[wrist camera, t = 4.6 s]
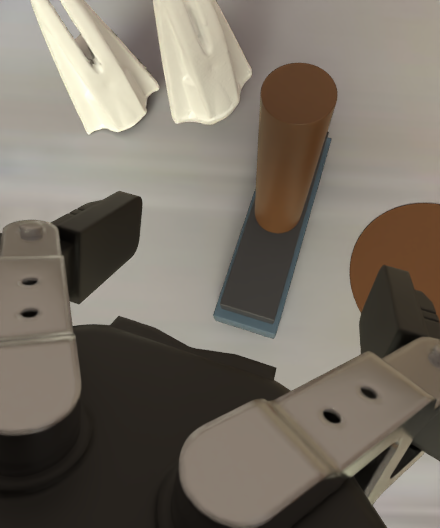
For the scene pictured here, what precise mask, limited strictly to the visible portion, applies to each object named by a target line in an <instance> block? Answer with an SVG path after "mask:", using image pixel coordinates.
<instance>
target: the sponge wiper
mask: <svg viewBox="0 0 440 528" xmlns="http://www.w3.org/2000/svg"><path fill="white" fill-rule="evenodd" d="M336 101H337V88H336V85H335V83H334V81H333V79H332V78H331V76H330V75H329V74H328V73H327V72H325V71H324V70H323V69H321V68H319V67H317V66H314V65H311V64H307V63H291V64H286V65H283V66H281V67H279V68H277V69H275V70H274V71H272V72H271V73H270V74H269V75H268V76H267V78H266V79H265V81H264V82H263V85H262V88H261V95H260V115H259V135H258V155H257V175H256V188H255V191H254V194H253V197H252V200H251V203H250V206H249V209H248V212H247V215H246V218H245V221H244V224H243V227H242V230H241V233H240V236H239V239H238V242H237V245H236V248H235V251H234V254H233V257H232V260H231V263H230V266H229V269H228V272H227V275H226V278H225V281H224V284H223V287H222V290H221V293H220V296H219V299H218V302H217V305H216V308H215V311H214V314H213V316H214V318H215V320H216V321H219V322H222V323H225V324H228V325H232V326H235V327H238V328H241V329H244V330H247V331H251V332H254V333H257V334H260V335H263V336H266V337H270V338H274V337H275V335H276V333H277V329H278V326H279V322H280V319H281V315H282V311H283V308H284V304H285V301H286V297H287V294H288V290H289V287H290V283H291V280H292V276H293V273H294V269H295V266H296V262H297V259H298V255H299V252H300V248H301V245H302V241H303V238H304V234H305V231H306V227H307V224H308V220H309V216H310V213H311V209H312V206H313V202H314V199H315V195H316V192H317V188H318V185H319V181H320V178H321V174H322V171H323V167H324V164H325V160H326V157H327V153H328V150H329V146H330V143H331V138H328V132H327V131H328V127H329V124H330V121H331V118H332V114H333V111H334V108H335V105H336Z"/></svg>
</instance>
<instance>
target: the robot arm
mask: <svg viewBox="0 0 440 528" xmlns="http://www.w3.org/2000/svg"><path fill="white" fill-rule="evenodd" d="M141 215H142V199H141V197H139V196H136V195H132V194H129V193H125V192H121V191H118V192H116V193H114V194H112V195H110V196H109V197H107V198H105V199H103V200H100V201H95V202H90V203H87V204H85V205H83V206H81V207H79V208H78V210H77V209H75V210H74V211H72V212H70V214H66V215H64V216H62V217H60V218H59V219H57V220H55V221H53V222H51V223H49V222H45V221H39V220H22V221H17V222H13V223H10V224H8V225H7V226H5V227H4V228H3V232H2V233H0V528H387V527H386V525H385V524H384V522H383V521H382V519H381V518H380V516H379V515H378V513H377V511H376V510H375V508H374V507H373V504H374V503H375V501H376V500H377V499H378V498H379V496H380V495H381V494H382V493H383V492H384V491H385V490H386V489H387V488H388V487H389V486H390V485H391V484H393V483H394V482H395V481H396V480H397V479H398V478H399V477H400V476H401V475H402V474H403V473H404V472H405V471H406V470H408V469H409V468H410V467H411V466H412V465H413V464H414V463H415V462H416V461H417V460H418V459H419V458H420V457H421V456H422V455H423V454H424V453H427V454H429V455H430V456H432V457H434V458H435V459H437V460H439V461H440V323H439V322H440V320H439V318H438V315H437V314H436V310H435V307H434V305H433V302H432V301H431V300H430V299H429V298H428V297H427V296H426V295H425V294H424V293H423V292H422V291H418V290H415V289H414V286H413V283H412V280H411V277H410V274H409V272H408V271H405V270H401V269H397V268H394V267H390V266H387V265H383V266H382V267H381V268H380V270H379V272H378V274H377V277H376V279H375V281H374V284H373V286H372V288H371V291H370V293H369V295H368V298H367V300H366V302H365V305H364V307H363V310H362V313H361V317H360V322H359V330H360V345H361V355H359V356H357V357H355V358H353V359H351V360H349V361H348V362H346V363H344V364H342V365H340V366H338V367H336V368H334V369H332V370H330V371H329V372H327V373H325V374H323V375H321V376H319V377H317V378H315V379H313V380H311V381H310V382H308V383H306V384H304V385H302V386H300V387H298V388H296V389H294V390H292V391H290V390H289V389H287V388H286V387H284V386H283V385H281V384H280V383H278V382H276V381H275V380H274V377H275V372H276V368H275V367H272V366H269V365H266V364H263V363H260V362H257V361H254V360H251V359H248V358H245V357H242V356H239V355H236V354H229V353H222V352H216V351H209V350H202V349H195V348H191V347H189V346H187V345H185V344H183V343H182V342H180V341H178V340H176V339H174V338H173V337H171V336H169V335H167V334H165V333H164V332H162V331H160V330H158V329H156V328H154V327H151V326H148V325H145V324H142V323H139V322H136V321H133V320H130V319H127V318H124V317H121V316H118V317H117V318H116V319H115V320H114V322H113V323H112V324H111V325H97V324H92V325H78V326H72V318H71V310H70V302H69V301H71V302H74V303H77V304H80V303H81V302H82V301H83V300H84V299H86V298H87V297H88V296H89V295H90V294H91V293H92V292H93V291H94V290H96V289H97V288H98V287H99V286H100V285H101V284H102V283H103V282H104V281H106V280H107V279H108V278H109V277H110V276H111V275H112V274H113V273H114V272H116V271H117V270H118V269H119V268H120V267H121V266H122V265H123V264H125V263H126V262H127V261H128V260H129V259H130V258H131V257H132V256H133V255H134V253H135V252H136V250H137V247H138V243H139V237H140V226H141Z"/></svg>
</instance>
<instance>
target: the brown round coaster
mask: <svg viewBox="0 0 440 528" xmlns="http://www.w3.org/2000/svg"><path fill="white" fill-rule="evenodd" d="M383 265H387V266H390V267H394V268H397V269H401V270H405V271H408V272H409V274H410V277H411V280H412V283H413V286H414V289H415V290H418V291H422V292H423V293H424V294H425V295H426V296H427V297H428V298H429V299H430V300H431V301H432V302H433V305H434V307H435V310H436V314H437V315H438V318H439V320H440V205H439V204H430V203H418V204H410V205H404V206H401V207H397V208H394V209H392V210H390V211H387V212H386V213H384V214H382V215H381V216H379V217H378V218H376V219H375V220H374V221H373V222H371V223H370V224H369V225H368V226H367V228H366V229H365V230H364V231H363V233H362V234H361V235H360V237H359V239H358V241H357V243H356V245H355V247H354V250H353V253H352V256H351V262H350V282H351V288H352V292H353V296H354V299H355V301H356V304H357V306H358V308H359V310H360V312H361V313H362V310H363V307H364V305H365V302H366V300H367V298H368V295H369V293H370V291H371V288H372V286H373V284H374V281H375V279H376V277H377V274H378V272H379V270H380V268H381V267H382V266H383ZM439 323H440V322H439Z"/></svg>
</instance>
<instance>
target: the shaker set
mask: <svg viewBox="0 0 440 528" xmlns="http://www.w3.org/2000/svg"><path fill="white" fill-rule="evenodd" d="M30 1H31V4H32V7H33V10H34V13H35V15H36V18H37V21H38V23H39V26H40V29H41V31H42V34H43V36H44V39H45V41H46V43H47V46H48V48H49V50H50V53H51V55H52V57H53V60H54V62H55V64H56V67H57V69H58V71H59V74H60V76H61V78H62V80H63V82H64V85H65V87H66V89H67V91H68V93H69V95H70V98H71V100H72V102H73V104H74V106H75V108H76V111H77V113H78V115H79V117H80V119H81V121H82V123H83V125H84V128H85V130H86V132H87V133H88V134H90V133H92V132H93V131H95V130H100V129H102V128H108V129H110V130H111V131H114V132H116V131H117V132H120V131H122V130H126V129H128V128H131V127H132V126H134V125H135V124H136V123H137V122H139V120H140V119H141V118H142V117H143V116H144V115H146V112H147V109H146V106H147V98H148V96H150V95H151V93H153V92H154V91H158V90H159V85H158V81H156V80H155V79H154V78H153V77H152V75H151V73H149V71H148V70H147V68H146V67H144V66H143V65H142V63H141V62H140V60H139V59H137V58H136V57H135V56H134V55H133V54H132V53H131V51H130V50H129V49H128V48H127V47H126V46H125V44H124V43H123V42H122V41H121V40H120V39H119V38H118V37H117V35H116V34H115V33H114V32H113V31H112V30H111V29H110V28H109V27H108V26H107V25H106V24H105V23H104V22H103V21H102V20H101V19H100V17H99V16H98V15H97V14H96V13H95V12H94V11H93V10H92V8H91V7H90V6H89V5H88V4H87V3H86V2H85V1H84V0H60V2H61V3H62V5H63V7H64V8H65V10H66V11H67V13H68V15H69V17H70V18H71V20H72V22H73V23H74V24H75V26H76V27H77V28H78V30H79V31H80V33H81V34H80V35H79V36H78V37H77V38H76V39H74V38H73V36H72V35H71V34H70V32H69V31H68V29H67V27H66V26H65V24H64V23H63V21H62V20H61V18H60V16H59V15H58V14H57V12H56V11H55V9H54V7H53V6H52V5H51V3H50V2H49V0H30ZM153 6H154V14H155V19H156V26H157V32H158V39H159V45H160V52H161V58H162V64H163V70H164V76H165V82H166V87H167V92H168V98H169V103H170V108H171V114H172V118H173V120H174V121H175V123H177V124H178V123H182V122H199V123H202V124H208V125H212V124H215V123H216V122H219V121H221V120H223V119H225V118H226V117H227V116H229V115H230V114H231V113H232V112H233V110H234V109H235V108H236V107H237V105H238V104H239V101H240V93H241V90H242V87H243V85H244V84H245V82H246V81H247V80H248V79H249V78H250V77H251V76H252V68H251V67H250V65H249V63H248V61H247V60H246V58H245V56H244V53H243V51H242V50H241V48H240V46H239V44H238V42H237V40H236V38H235V36H234V34H233V32H232V30H231V28H230V26H229V24H228V22H227V20H226V19H225V17H224V15H223V13H222V11H221V9H220V7H219V5H218V3H217V2H216V0H153Z"/></svg>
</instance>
